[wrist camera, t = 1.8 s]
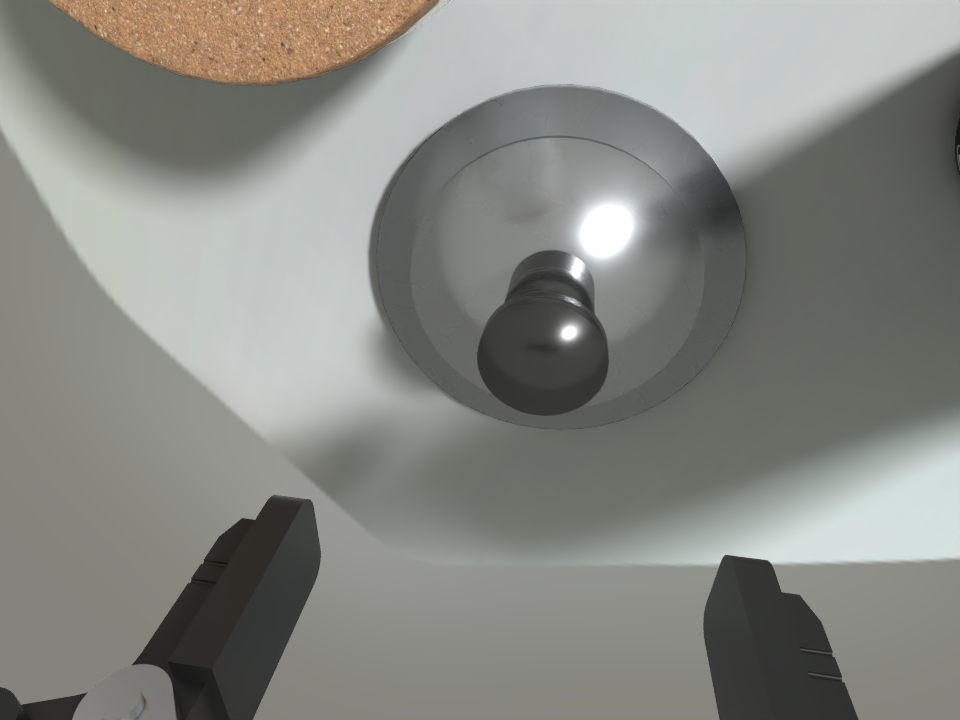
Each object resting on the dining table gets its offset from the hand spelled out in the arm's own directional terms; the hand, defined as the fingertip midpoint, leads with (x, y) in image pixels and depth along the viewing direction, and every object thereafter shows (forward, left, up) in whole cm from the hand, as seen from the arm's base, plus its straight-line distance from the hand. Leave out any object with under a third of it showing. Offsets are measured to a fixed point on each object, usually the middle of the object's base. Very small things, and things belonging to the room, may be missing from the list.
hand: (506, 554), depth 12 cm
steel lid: (0, 0, -14) cm, 14 cm away
